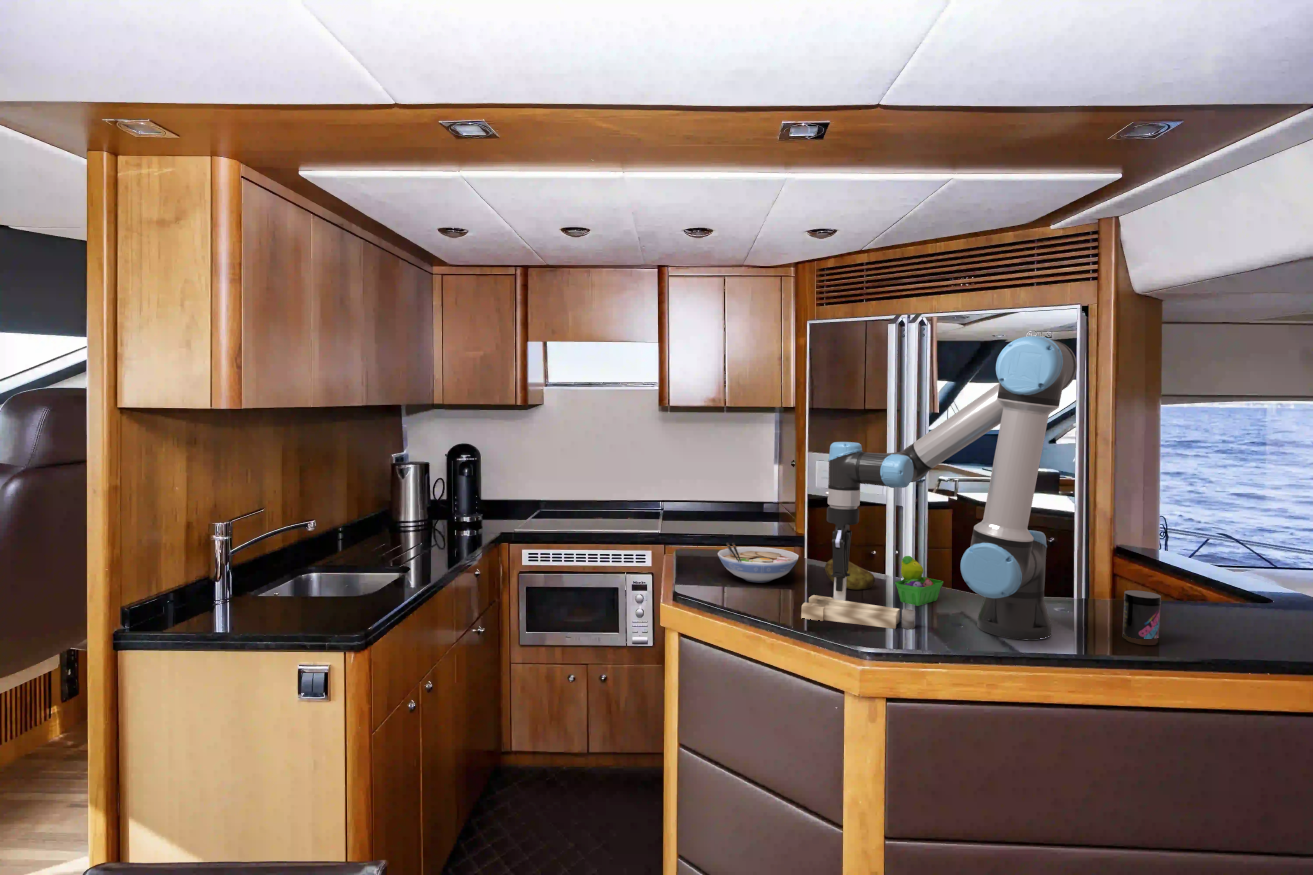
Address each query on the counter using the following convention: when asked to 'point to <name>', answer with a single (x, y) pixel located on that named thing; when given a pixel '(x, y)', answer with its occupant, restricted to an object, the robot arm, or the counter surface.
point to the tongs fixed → (857, 616)
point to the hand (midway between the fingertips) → (839, 603)
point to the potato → (853, 576)
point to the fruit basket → (916, 584)
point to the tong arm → (851, 605)
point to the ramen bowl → (757, 562)
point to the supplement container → (1141, 614)
